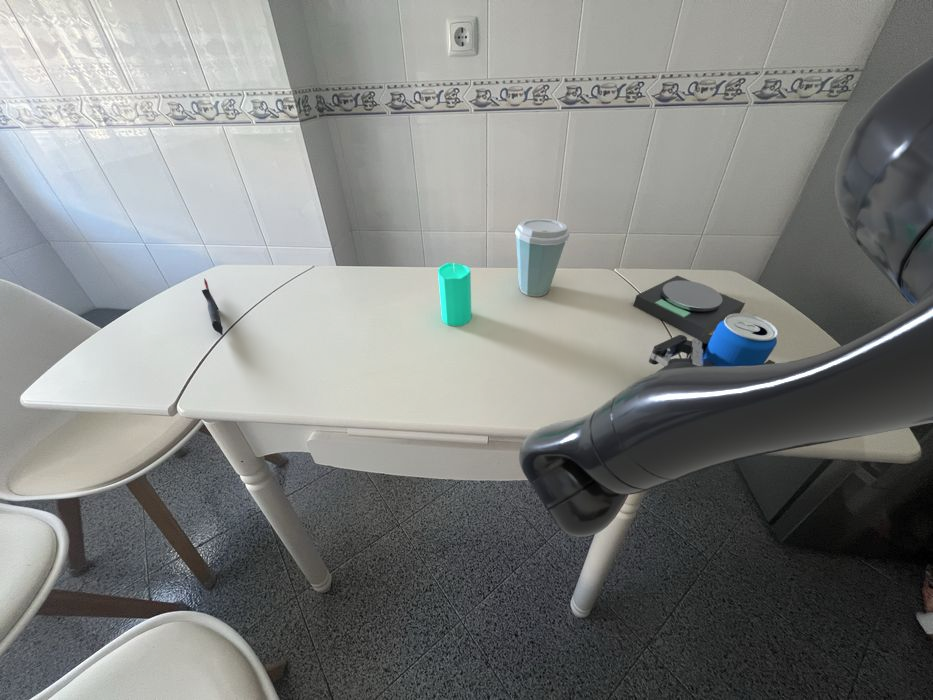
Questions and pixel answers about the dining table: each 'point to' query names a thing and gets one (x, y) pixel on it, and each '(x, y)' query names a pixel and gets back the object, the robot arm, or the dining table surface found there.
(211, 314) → the knife
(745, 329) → the beverage can
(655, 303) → the scale
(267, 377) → the dining table surface
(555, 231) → the disposable coffee cup
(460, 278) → the candle
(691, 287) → the scale pan
